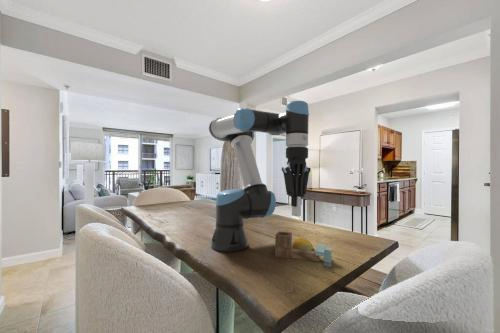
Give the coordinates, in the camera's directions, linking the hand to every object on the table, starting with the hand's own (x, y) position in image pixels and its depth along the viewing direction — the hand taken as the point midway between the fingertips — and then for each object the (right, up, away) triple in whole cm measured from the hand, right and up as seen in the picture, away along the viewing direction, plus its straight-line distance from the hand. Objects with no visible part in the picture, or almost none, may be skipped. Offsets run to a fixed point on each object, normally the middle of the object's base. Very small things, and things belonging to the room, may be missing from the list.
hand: (296, 215), depth 77 cm
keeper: (+10, -17, +2) cm, 19 cm away
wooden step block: (+2, -17, +6) cm, 18 cm away
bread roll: (+5, -17, +15) cm, 24 cm away
